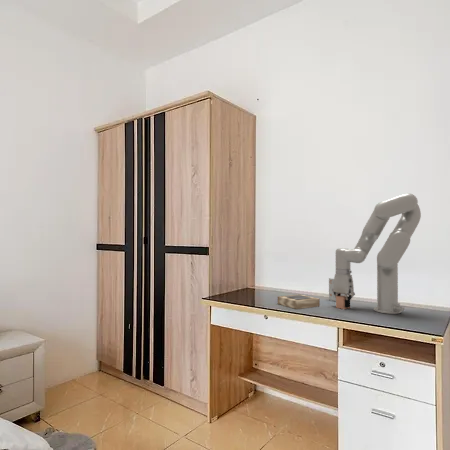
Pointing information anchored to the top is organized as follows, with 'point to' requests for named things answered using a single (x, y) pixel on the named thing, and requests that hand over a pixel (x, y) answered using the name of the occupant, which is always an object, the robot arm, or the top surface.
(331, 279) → the small box
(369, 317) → the top surface
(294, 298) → the square wooden tray
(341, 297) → the terracotta block
